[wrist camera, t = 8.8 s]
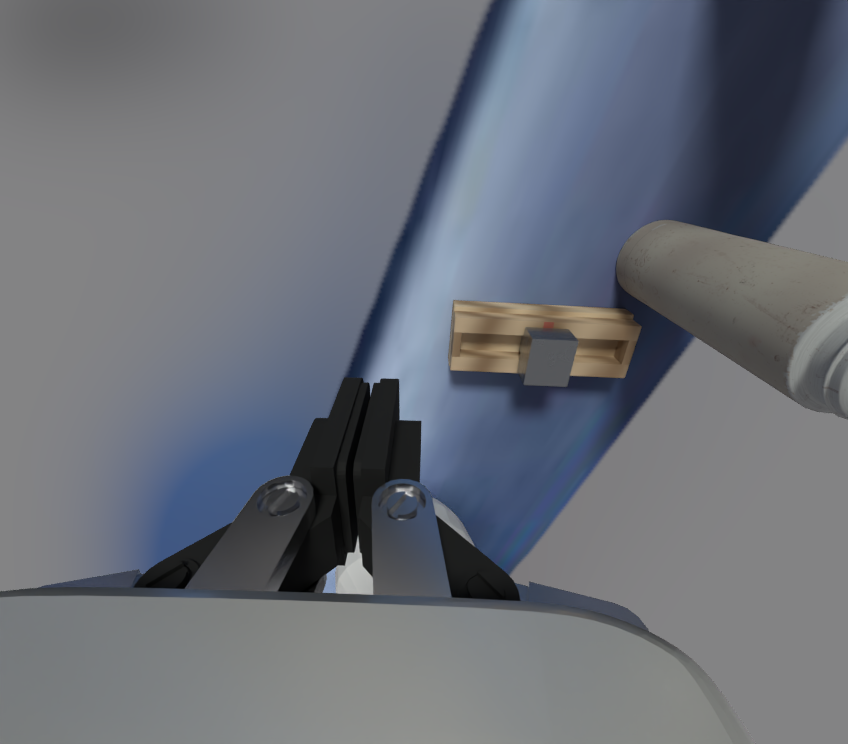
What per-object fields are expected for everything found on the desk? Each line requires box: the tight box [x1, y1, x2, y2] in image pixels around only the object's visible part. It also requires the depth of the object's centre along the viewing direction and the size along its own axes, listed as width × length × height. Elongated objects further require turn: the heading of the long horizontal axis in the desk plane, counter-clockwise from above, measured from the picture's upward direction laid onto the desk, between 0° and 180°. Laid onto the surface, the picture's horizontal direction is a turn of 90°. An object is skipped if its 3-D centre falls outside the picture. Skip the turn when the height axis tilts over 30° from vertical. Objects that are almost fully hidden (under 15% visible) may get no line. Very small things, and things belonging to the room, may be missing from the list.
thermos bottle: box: [616, 220, 848, 419], centre depth 29 cm, size 8×8×28 cm
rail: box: [448, 300, 642, 378], centre depth 43 cm, size 19×7×4 cm, turn 87°
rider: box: [517, 327, 579, 387], centre depth 41 cm, size 4×5×5 cm
